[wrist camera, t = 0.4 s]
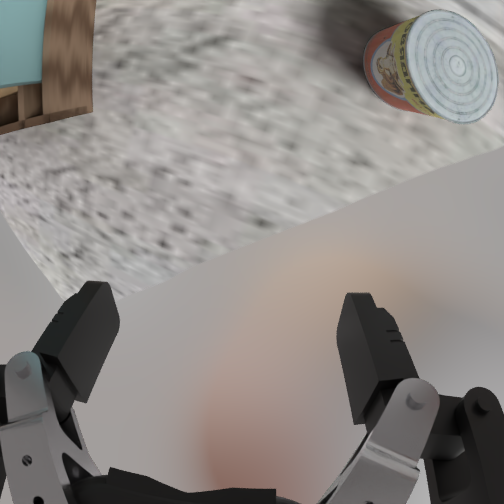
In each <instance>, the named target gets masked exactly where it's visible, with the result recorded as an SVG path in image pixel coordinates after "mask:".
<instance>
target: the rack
mask: <svg viewBox="0 0 504 504" xmlns="http://www.w3.org/2000/svg"><path fill="white" fill-rule="evenodd" d="M95 8H96V0H47V8H46V16H45V25H44V38H43V56H42V83H37V84H28V85H20V86H18V94H15V95H12V96H8V97H3V98H0V135H2V134H5V133H9V132H13V131H16V130H20V129H24V128H28V127H32V126H36V125H41V124H45V123H50V122H54V121H58V120H61V119H65V118H69V117H73V116H78V115H82V114H87V113H91V112H93V102H92V53H93V32H94V18H95Z"/></svg>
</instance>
